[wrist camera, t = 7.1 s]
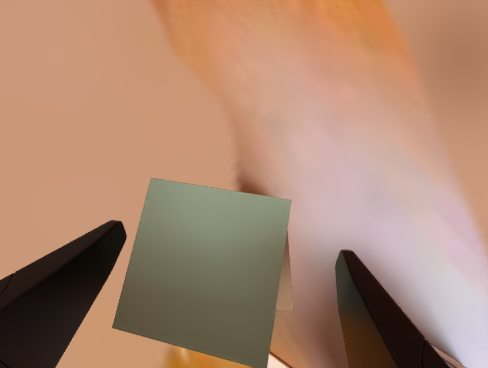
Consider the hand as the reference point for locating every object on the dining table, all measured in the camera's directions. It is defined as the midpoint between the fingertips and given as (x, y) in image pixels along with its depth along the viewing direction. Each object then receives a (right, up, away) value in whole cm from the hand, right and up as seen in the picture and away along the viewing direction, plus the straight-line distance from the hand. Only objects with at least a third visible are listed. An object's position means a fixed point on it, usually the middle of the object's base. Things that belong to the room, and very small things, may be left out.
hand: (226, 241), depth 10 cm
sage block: (+1, -2, +8) cm, 8 cm away
